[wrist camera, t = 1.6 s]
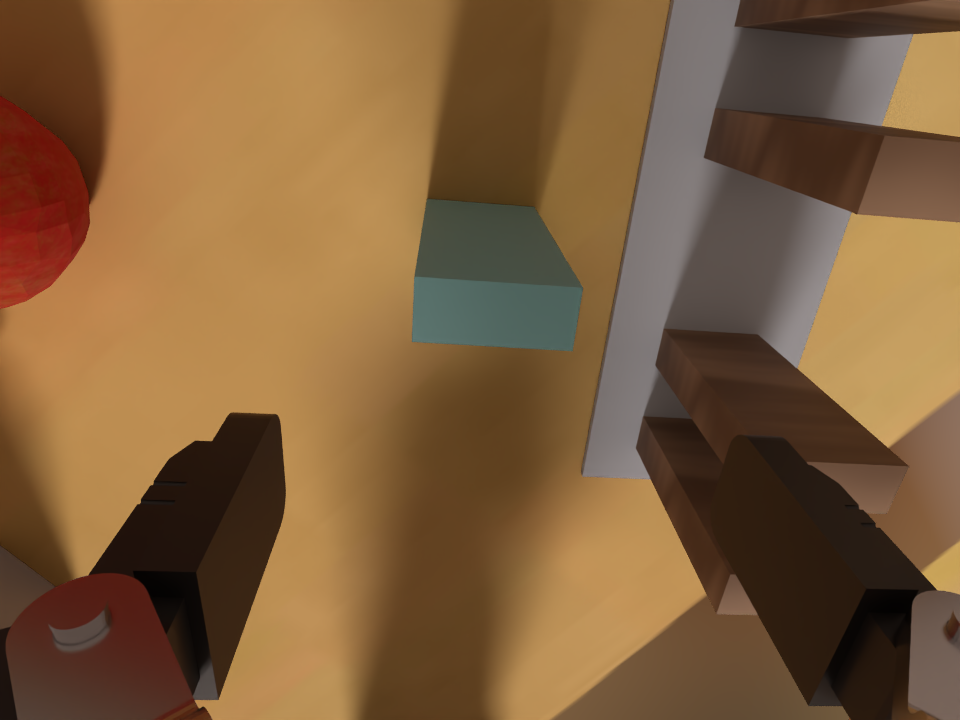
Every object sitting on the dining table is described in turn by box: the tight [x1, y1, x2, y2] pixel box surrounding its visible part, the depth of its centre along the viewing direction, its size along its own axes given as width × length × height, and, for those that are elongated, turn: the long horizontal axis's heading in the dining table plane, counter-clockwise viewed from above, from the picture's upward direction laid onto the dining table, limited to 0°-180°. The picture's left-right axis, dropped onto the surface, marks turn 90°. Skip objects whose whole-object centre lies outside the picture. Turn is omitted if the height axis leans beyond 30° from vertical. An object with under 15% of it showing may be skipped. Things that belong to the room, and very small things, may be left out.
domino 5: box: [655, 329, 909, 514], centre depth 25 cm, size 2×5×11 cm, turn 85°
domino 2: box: [636, 416, 758, 615], centre depth 28 cm, size 2×5×11 cm, turn 85°
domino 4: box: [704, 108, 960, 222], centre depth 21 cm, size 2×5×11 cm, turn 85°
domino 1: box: [412, 199, 583, 351], centre depth 23 cm, size 2×5×11 cm, turn 85°
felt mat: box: [581, 0, 913, 479], centre depth 28 cm, size 26×10×1 cm, turn 175°
